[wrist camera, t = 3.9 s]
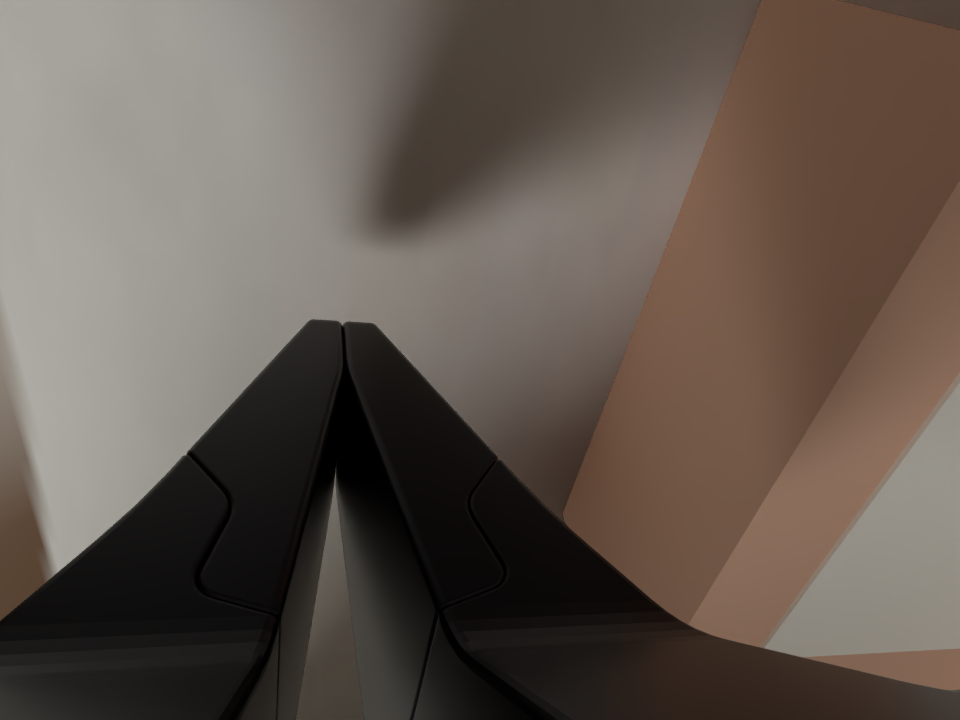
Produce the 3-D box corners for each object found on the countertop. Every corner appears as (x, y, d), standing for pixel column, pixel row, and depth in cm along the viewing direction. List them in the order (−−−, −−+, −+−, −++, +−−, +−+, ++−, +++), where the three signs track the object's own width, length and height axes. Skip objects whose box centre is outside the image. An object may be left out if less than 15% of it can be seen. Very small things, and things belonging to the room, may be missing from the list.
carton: (559, 504, 14) (635, 718, 11) (757, -20, 9) (1047, 51, 5) (864, 508, 16) (1016, 689, 13) (1176, 83, 11) (1591, 185, 7)
